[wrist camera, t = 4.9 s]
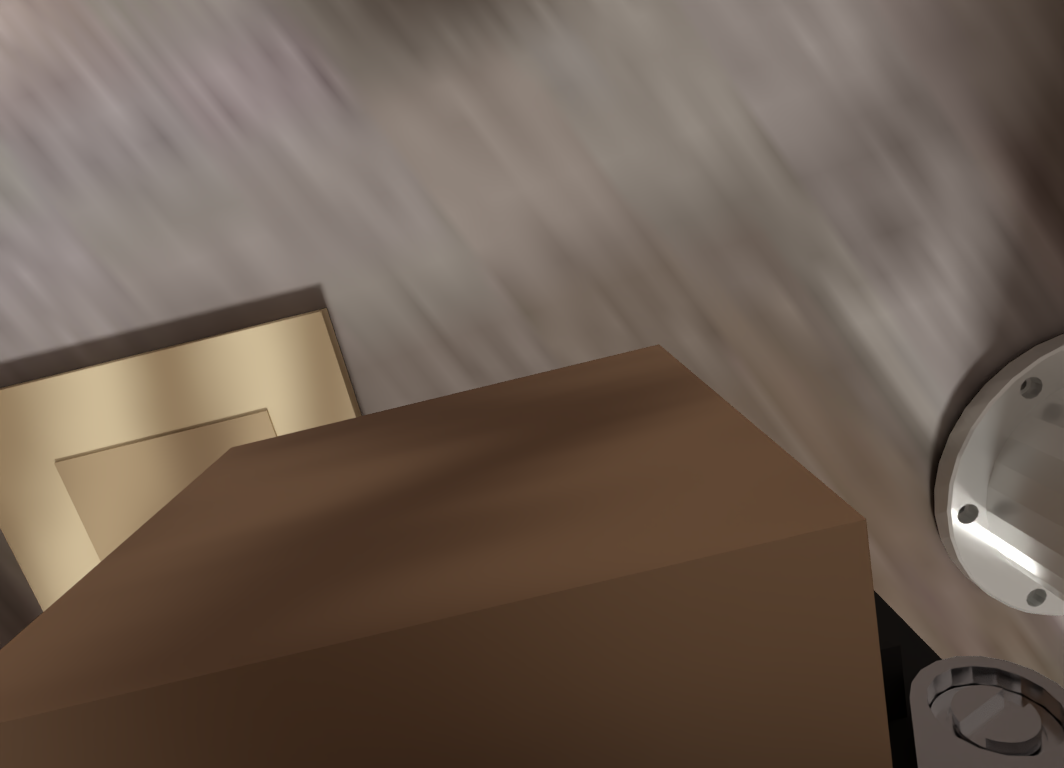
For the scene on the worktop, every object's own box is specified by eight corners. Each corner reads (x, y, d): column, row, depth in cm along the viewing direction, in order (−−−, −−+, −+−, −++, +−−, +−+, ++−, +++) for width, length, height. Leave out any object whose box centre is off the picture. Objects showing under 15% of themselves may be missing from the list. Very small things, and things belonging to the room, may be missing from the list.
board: (326, 307, 24) (320, 311, 23) (430, 627, 27) (428, 641, 27) (-45, 399, 24) (-66, 406, 23) (110, 705, 27) (97, 722, 27)
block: (659, 344, 10) (865, 520, 4) (725, 703, 12) (933, 1157, 6) (231, 447, 10) (-114, 749, 5) (362, 786, 12) (236, 1311, 6)
